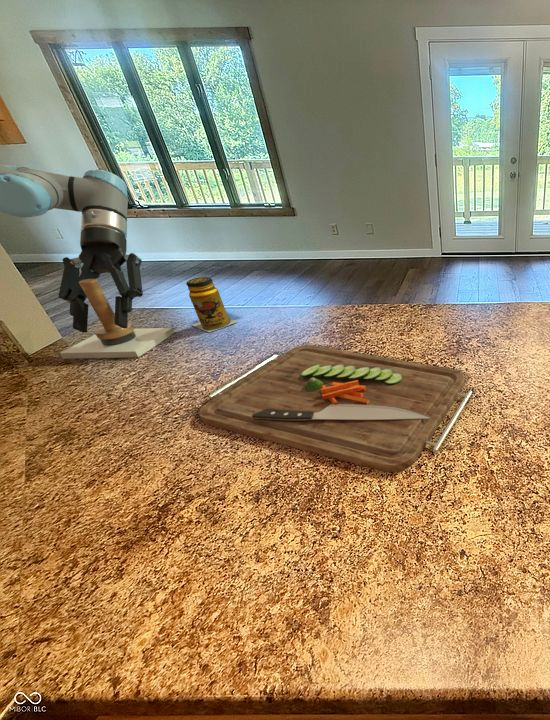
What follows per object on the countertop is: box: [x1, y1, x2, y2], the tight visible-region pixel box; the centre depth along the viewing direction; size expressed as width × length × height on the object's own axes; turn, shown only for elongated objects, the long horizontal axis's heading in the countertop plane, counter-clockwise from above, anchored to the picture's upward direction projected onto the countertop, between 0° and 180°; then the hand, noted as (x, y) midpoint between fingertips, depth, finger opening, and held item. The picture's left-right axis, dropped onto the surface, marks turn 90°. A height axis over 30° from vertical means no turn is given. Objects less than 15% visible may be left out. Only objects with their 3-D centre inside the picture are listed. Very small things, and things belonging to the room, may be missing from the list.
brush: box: [79, 278, 136, 346], centre depth 84 cm, size 6×6×14 cm
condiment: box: [186, 276, 239, 333], centre depth 95 cm, size 7×8×12 cm
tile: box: [59, 327, 175, 360], centre depth 88 cm, size 16×12×2 cm
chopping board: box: [198, 344, 473, 473], centre depth 69 cm, size 45×27×3 cm, turn 72°
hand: (100, 327), depth 82 cm, fingers open, 7 cm apart
